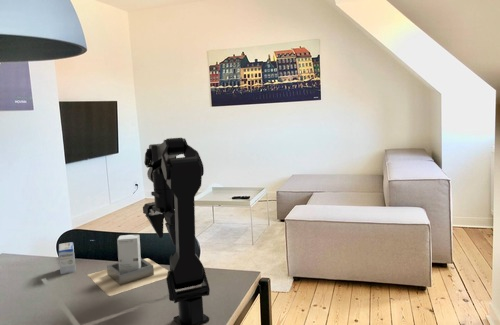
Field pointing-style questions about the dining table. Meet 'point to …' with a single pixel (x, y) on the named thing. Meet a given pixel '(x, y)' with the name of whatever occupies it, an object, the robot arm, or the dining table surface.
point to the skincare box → (129, 253)
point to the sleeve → (130, 273)
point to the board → (114, 288)
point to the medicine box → (66, 258)
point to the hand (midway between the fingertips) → (168, 241)
